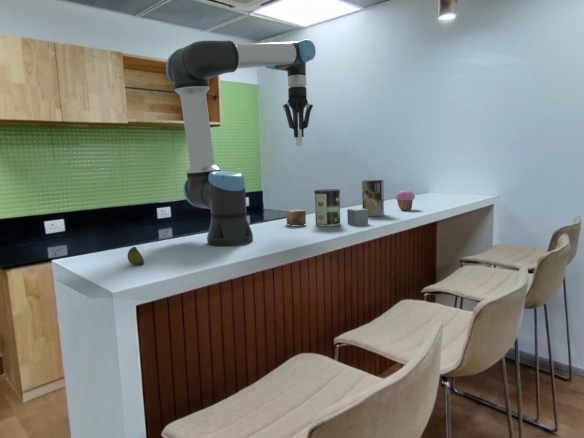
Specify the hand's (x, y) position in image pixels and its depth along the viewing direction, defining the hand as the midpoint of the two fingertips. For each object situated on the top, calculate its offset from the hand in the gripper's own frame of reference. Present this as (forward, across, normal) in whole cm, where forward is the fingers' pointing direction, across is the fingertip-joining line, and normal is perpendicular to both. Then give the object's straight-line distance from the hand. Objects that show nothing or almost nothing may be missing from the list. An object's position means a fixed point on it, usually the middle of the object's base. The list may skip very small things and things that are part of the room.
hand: (299, 145), depth 175 cm
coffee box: (+33, -36, 0) cm, 49 cm away
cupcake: (+33, -59, -7) cm, 68 cm away
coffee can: (+33, -6, +13) cm, 36 cm away
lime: (+33, +68, +46) cm, 88 cm away
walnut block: (+33, +5, +6) cm, 33 cm away
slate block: (+33, -17, +18) cm, 41 cm away
